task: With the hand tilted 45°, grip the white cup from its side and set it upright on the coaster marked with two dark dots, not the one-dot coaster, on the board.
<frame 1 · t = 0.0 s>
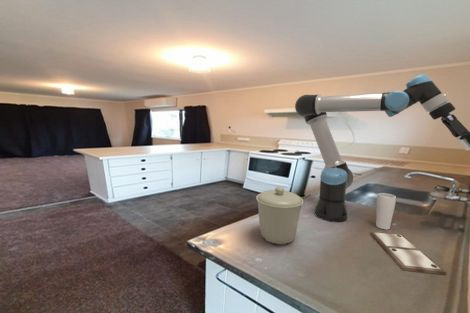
coaster board: (402, 251, 79), on the counter
white cup: (382, 227, 97), on the counter
canister: (277, 238, 87), on the counter
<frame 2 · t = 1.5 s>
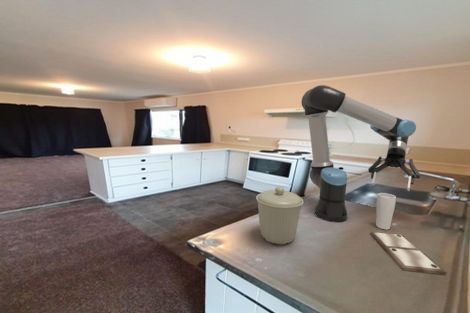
hand: (390, 186, 102), 17 cm above the counter, tool tilted 45°, fingers open, 13 cm apart
nothing on the counter moved.
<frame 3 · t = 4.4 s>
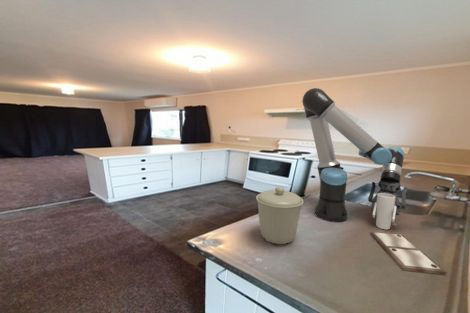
hand: (383, 218, 94), 5 cm above the counter, tool tilted 45°, fingers closed on white cup, 6 cm apart
white cup: (382, 227, 97), on the counter, touching gripper
everything else where it was.
when the fingers open (8 cm above the counter, at t = 10.1 s): white cup drops 1 cm, resting on coaster board.
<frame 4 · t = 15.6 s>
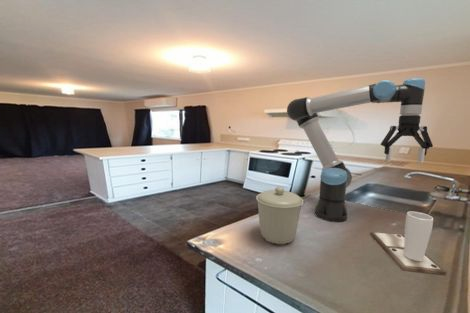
hand: (403, 161, 100), 29 cm above the counter, tool pointing down, fingers open, 13 cm apart
white cup: (412, 257, 73), point 1 cm above the counter, touching coaster board
everything else where it was.
at the end: white cup inside the target area on the coaster board (0.2 cm from its centre), point 1.1 cm above the coaster board's base; white cup tilted 1°; the gripper is holding nothing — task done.
